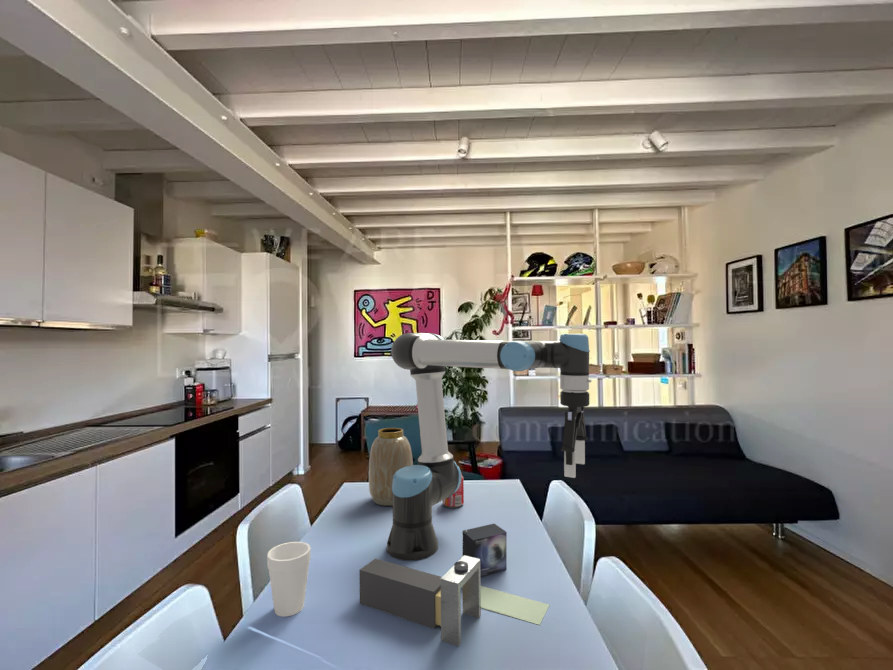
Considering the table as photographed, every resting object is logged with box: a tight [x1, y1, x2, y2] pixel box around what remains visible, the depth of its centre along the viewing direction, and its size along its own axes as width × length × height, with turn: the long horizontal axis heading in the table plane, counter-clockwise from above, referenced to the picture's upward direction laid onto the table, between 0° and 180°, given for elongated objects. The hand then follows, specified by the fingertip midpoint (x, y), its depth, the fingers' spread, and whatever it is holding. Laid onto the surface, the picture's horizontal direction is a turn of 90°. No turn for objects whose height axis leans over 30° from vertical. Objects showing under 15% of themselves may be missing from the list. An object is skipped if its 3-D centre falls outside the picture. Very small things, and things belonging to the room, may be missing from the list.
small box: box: [461, 523, 508, 578], centre depth 115 cm, size 11×6×10 cm, turn 117°
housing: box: [440, 555, 482, 648], centre depth 92 cm, size 4×11×13 cm, turn 152°
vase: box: [368, 427, 414, 507], centre depth 169 cm, size 17×17×27 cm
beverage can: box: [441, 473, 465, 509], centre depth 163 cm, size 8×8×12 cm
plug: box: [359, 558, 443, 630], centre depth 99 cm, size 22×6×8 cm, turn 62°
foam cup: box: [266, 541, 312, 618], centre depth 100 cm, size 10×9×13 cm
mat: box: [481, 585, 550, 626], centre depth 100 cm, size 18×8×1 cm, turn 62°
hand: (575, 469), depth 117 cm, fingers open, 13 cm apart
